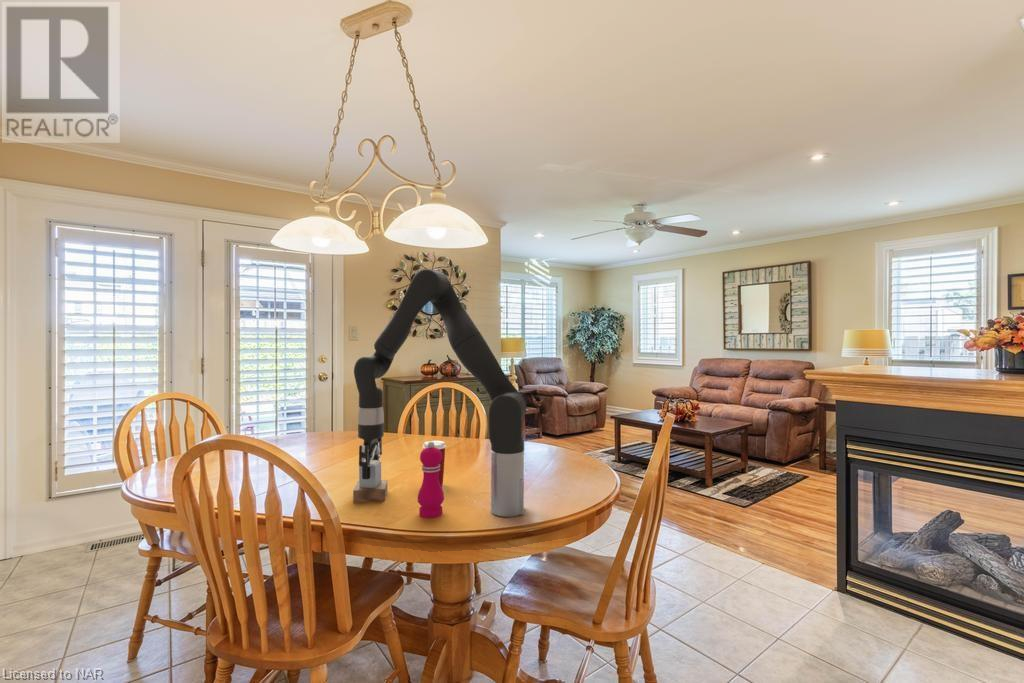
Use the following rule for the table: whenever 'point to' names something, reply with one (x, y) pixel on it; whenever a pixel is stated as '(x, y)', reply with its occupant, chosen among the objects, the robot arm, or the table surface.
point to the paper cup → (441, 447)
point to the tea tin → (371, 475)
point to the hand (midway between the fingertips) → (370, 474)
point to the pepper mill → (430, 483)
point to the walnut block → (370, 493)
